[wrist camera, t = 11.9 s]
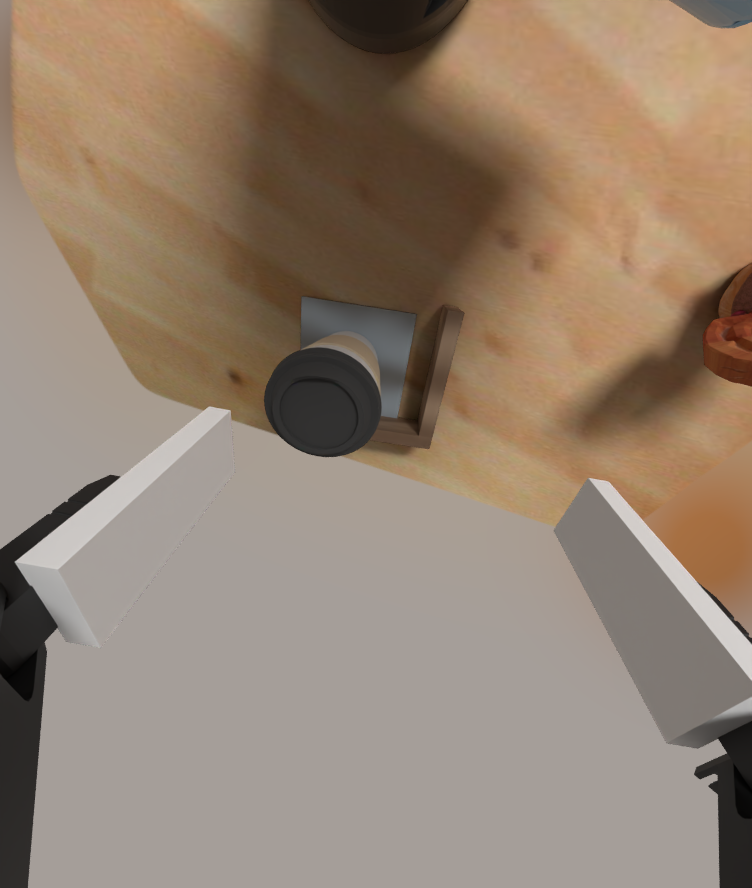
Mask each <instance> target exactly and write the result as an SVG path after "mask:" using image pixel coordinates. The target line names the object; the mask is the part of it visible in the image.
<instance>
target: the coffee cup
mask: <svg viewBox="0 0 752 888" xmlns="http://www.w3.org/2000/svg"><path fill="white" fill-rule="evenodd" d="M264 404H265V410H266V414H267V417H268V419H269V422H270V423H271V425H272V427H273V428H274V430H275V431H276V432H277V434H278V435H279V436H280V437H281V438H282V439H284V441H286V442H287V443H288V444H289V445H291V446H293V447H294V448H296V449H298V450H300V451H302V452H305V453H307V454H311V455H315V456H321V457H337V456H342V455H346V454H349V453H352V452H354V451H356V450H358V449H359V448H361V447H362V446H363V445H365V444H366V443H367V442H368V441H369V440H370V439H371V437H372V436H373V434H374V433H375V431H376V429H377V426H378V424H379V421H380V417H381V411H382V403H381V389H380V369H379V364H378V358H377V354H376V351H375V349H374V347H373V345H372V344H371V343H370V342H369V341H368V340H367V339H366V338H365V337H364V336H362V335H360V334H358V333H355V332H351V331H340V332H336V333H333V334H331V335H330V336H327V337H325V338H322V339H320V340H318V341H317V342H315V343H313V344H311V345H309V346H307V347H305V348H303V349H301V350H300V351H297V352H295V353H293V354H291V355H289V356H288V357H286V358H285V359H284V360H283V361H281V362H280V364H279V365H278V366H277V367H276V369H275V370H274V372H273V374H272V376H271V378H270V379H269V381H268V384H267V386H266V390H265V396H264Z"/></svg>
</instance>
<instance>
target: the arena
mask: <svg viewBox="0 0 752 888" xmlns="http://www.w3.org/2000/svg"><path fill="white" fill-rule="evenodd" d="M416 316H417V314H413V313H407V312H400V311H394V310H387V309H381V308H375V307H368V306H362V305H355V304H349V303H343V302H336V301H330V300H323V299H317V298H311V297H304V296H302V300H301V349H303V348H305V347H307V346H309V345H311V344H313V343H315V342H317V341H318V340H320V339H322V338H325V337H327V336H330V335H331V334H333V333H336V332H340V331H351V332H355V333H358V334H360V335H362V336H364V337H365V338H366V339H367V340H368V341H369V342H370V343H371V344H372V345H373V347H374V349H375V351H376V354H377V358H378V364H379V369H380V389H381V403H382V411H381V417H380V421H379V424H378V426H377V429H376V431H375V433H374V434H373V436H372V437H371V439H370V440H372V441H378V442H385V443H391V444H398V445H405V446H411V447H418V448H424V449H429V448H430V444H431V440H432V437H433V433H434V429H435V425H436V421H437V417H438V413H439V409H440V406H441V402H442V398H443V394H444V390H445V386H446V382H447V378H448V375H449V371H450V367H451V363H452V359H453V355H454V351H455V347H456V344H457V340H458V336H459V332H460V328H461V324H462V320H463V316H464V312H463V311H462V310H460V309H459V308H458V307H454V306H447V305H443V308H442V313H441V317H440V322H439V326H438V331H437V335H436V339H435V344H434V348H433V353H432V357H431V362H430V366H429V371H428V375H427V380H426V384H425V389H424V393H423V397H422V402H421V406H420V411H419V415H418V420H411V419H405V418H398V412H399V406H400V401H401V396H402V390H403V385H404V380H405V374H406V369H407V364H408V358H409V353H410V348H411V343H412V337H413V332H414V327H415V321H416Z"/></svg>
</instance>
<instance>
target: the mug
mask: <svg viewBox="0 0 752 888" xmlns="http://www.w3.org/2000/svg"><path fill="white" fill-rule="evenodd" d="M718 314H719V317H720V318H719V319H715V320H713V321H712V322H711V323H710V324H709V326H708V327H707V328H706V330H705V332H704V334H703V352H704V365H705V366H706V367H707V368H709V369H710V370H711V371H712V372H713V373H714V374H716V375H718V376H720V377H722V378H724V379H726V380H728V381H731V382H734V383H740V384H744V385H748V386H752V263H751V264H749V265H748V266H747V267H745V268H744V269H742V270H741V271H740V273H739V274H738V275H737V276H736V277H735V278H734V279H733V281H732V282H731V284H730V285H729V287H728V288H727V289H726V291H725V292H724V294H723V296H722V298H721V300H720V303H719V310H718Z"/></svg>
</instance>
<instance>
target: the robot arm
mask: <svg viewBox="0 0 752 888" xmlns="http://www.w3.org/2000/svg"><path fill="white" fill-rule="evenodd" d="M466 1H467V0H309V2H310V3H311V5H312V7H313V8H314V10H315V11H316V12H317V14H318V15H319V16H320V17H321V19H322V20H323V21H324V22H325V23H326V24H327V25H328V26H329V27H330V28H331V29H332V30H333V31H334V32H335V33H336V34H337V35H338V36H340V37H341V38H342V39H344V40H345V41H347V42H348V43H350V44H352V45H354V46H356V47H358V48H360V49H363V50H366V51H370V52H375V53H397V52H402V51H406V50H409V49H412V48H414V47H416V46H419V45H421V44H422V43H424V42H426V41H428V40H429V39H431V38H432V37H433V36H435V35H436V34H437V33H439V32H440V31H441V30H442V29H443V28H444V27H445V26H446V25H447V24H448V23H449V22H450V21H451V20H452V19H453V18H454V17H455V16H456V15H457V13H458V12H459V11H460V10H461V8H462V7H463V6H464V4H465V3H466ZM670 1H671V2H673V3H674V4H676V5H677V6H679V7H680V8H682V9H683V10H685V11H687V12H688V13H690V14H691V15H693V16H694V17H696V18H697V19H699V20H700V21H702V22H703V23H705V24H707V25H709V26H712V27H717V28H736V27H739V26H742V25H745V24H748V23H750V22H752V0H670ZM233 450H234V449H233V436H232V424H231V410H225V409H220V408H215V407H208V408H207V409H205V410H204V411H203V412H202V413H200V414H199V415H198V416H197V417H195V418H194V419H193V420H192V421H190V422H189V423H188V424H187V425H185V426H184V427H183V428H182V429H180V430H179V431H178V432H177V433H175V434H174V435H173V436H172V437H170V438H169V439H168V440H167V441H165V442H164V443H163V444H162V445H160V446H159V447H158V448H157V449H155V450H154V451H153V452H152V453H150V454H149V455H148V456H147V457H145V458H144V459H143V460H142V461H140V462H139V463H138V464H137V465H135V466H134V467H133V468H132V469H130V470H129V471H128V472H127V473H125V474H124V475H123V476H122V477H120V476H114V475H109V476H107V477H105V478H102V479H100V480H98V481H95V482H93V483H91V484H88V485H87V486H85V487H84V488H83V489H81V490H80V491H78V493H76V494H75V495H73V496H72V497H70V498H69V499H68V502H64V503H62V504H61V505H60V506H58V507H57V508H56V509H54V510H53V512H52V513H51V514H48V515H46V516H45V517H44V518H42V519H41V520H39V521H38V522H37V523H35V524H34V525H33V526H31V527H30V528H28V529H27V530H26V531H24V532H23V533H22V534H21V535H19V536H18V537H16V538H15V539H14V540H12V541H11V542H10V543H8V544H7V545H6V546H4V547H3V548H2V549H0V888H28V877H29V865H30V852H31V840H32V827H33V815H34V804H35V791H36V779H37V766H38V755H39V743H40V742H39V741H40V730H41V718H42V706H43V693H44V681H45V669H46V657H47V651H46V646H45V643H44V642H45V641H46V640H47V638H48V637H49V636H50V635H51V634H52V633H53V632H54V631H55V630H56V628H58V630H59V631H60V633H61V634H62V636H63V637H64V639H65V640H66V642H70V643H76V644H82V645H88V646H94V647H100V648H101V647H102V646H103V644H104V643H105V642H106V640H107V639H108V638H109V637H110V635H111V634H112V633H113V631H114V630H115V628H116V627H117V626H118V625H119V623H120V622H121V621H122V619H123V618H124V617H125V615H126V614H127V613H128V612H129V610H130V609H131V608H132V606H133V605H134V604H135V602H136V601H137V600H138V599H139V597H140V596H141V595H142V593H143V592H144V591H145V589H146V588H147V587H148V585H149V584H150V583H151V582H152V580H153V579H154V578H155V576H156V575H157V574H158V572H159V571H160V570H161V568H162V567H163V566H164V564H165V563H166V562H167V561H168V559H169V558H170V557H171V555H172V554H173V553H174V551H175V550H176V549H177V548H178V546H179V545H180V543H181V542H182V541H183V540H184V538H185V537H186V536H187V534H188V533H189V532H190V530H191V529H192V528H193V526H194V525H195V524H196V523H197V521H198V520H199V519H200V517H201V516H202V515H203V513H204V512H205V511H206V510H207V508H208V507H209V506H210V504H211V503H212V502H213V500H214V499H215V498H216V496H217V495H218V494H219V493H220V491H221V490H222V488H223V487H224V486H225V485H226V483H227V482H228V481H229V479H230V478H231V477H232V475H233V474H234V473H235V465H234V464H235V463H234V451H233ZM554 532H555V534H556V536H557V538H558V540H559V542H560V543H561V545H562V547H563V549H564V551H565V553H566V555H567V557H568V559H569V560H570V562H571V564H572V566H573V568H574V570H575V572H576V574H577V576H578V577H579V579H580V581H581V583H582V585H583V587H584V589H585V591H586V592H587V594H588V596H589V598H590V600H591V602H592V604H593V606H594V608H595V610H596V611H597V613H598V615H599V617H600V619H601V621H602V623H603V625H604V626H605V628H606V630H607V632H608V634H609V636H610V638H611V640H612V642H613V643H614V645H615V647H616V649H617V651H618V653H619V654H620V656H621V658H622V660H623V662H624V664H625V666H626V668H627V669H628V672H629V674H630V675H631V677H632V679H633V681H634V683H635V685H636V687H637V689H638V691H639V692H640V694H641V696H642V698H643V700H644V702H645V704H646V706H647V707H648V709H649V711H650V713H651V715H652V717H653V719H654V721H655V723H656V724H657V726H658V728H659V730H660V732H661V734H662V736H663V738H664V739H665V741H666V743H668V744H674V745H680V746H686V747H692V748H700V747H702V746H704V745H706V744H708V743H710V742H712V741H714V740H716V739H719V741H720V742H721V744H722V746H723V747H724V749H725V750H726V752H727V754H725V755H722V756H720V757H718V758H716V759H714V760H711V761H709V762H707V763H705V764H703V765H700V766H698V767H696V770H695V773H694V775H695V776H696V777H698V778H699V779H702V778H704V777H707V776H709V775H712V774H716V775H718V781H715V782H713V783H711V784H710V785H709V787H710V788H711V789H712V790H713V791H714V792H716V793H717V794H718V817H719V818H718V820H719V875H720V888H752V638H750V637H749V633H747V631H746V630H745V629H744V628H743V627H742V626H741V624H740V623H739V622H738V621H734V617H733V616H732V615H731V613H730V612H729V611H728V610H727V609H726V608H725V607H724V606H723V604H722V603H721V602H720V601H719V600H718V599H717V598H716V597H715V596H714V595H713V594H711V593H710V592H709V591H708V590H706V589H705V588H704V587H703V586H702V585H700V584H699V583H698V582H696V580H695V579H694V578H693V577H692V576H691V575H690V574H689V573H688V572H687V570H686V569H685V568H684V567H683V566H682V565H681V563H680V562H678V560H677V559H676V558H675V557H674V556H673V554H672V553H671V552H670V551H669V550H668V549H667V548H666V546H665V545H664V544H663V543H662V542H661V541H660V540H659V538H658V537H657V536H656V535H655V534H654V533H653V532H652V531H651V529H650V528H649V527H648V526H647V525H646V524H645V523H644V522H643V520H642V519H641V518H640V517H639V516H638V515H637V513H636V512H635V511H634V510H633V509H632V508H631V507H630V506H629V504H628V503H627V502H626V501H625V500H624V499H623V498H622V496H621V495H620V494H619V493H618V492H617V491H616V490H615V488H614V487H613V486H612V485H611V484H610V483H609V482H608V481H603V480H597V479H592V478H588V479H587V480H586V482H585V483H584V485H583V486H582V488H581V489H580V491H579V492H578V494H577V496H576V497H575V499H574V500H573V502H572V503H571V505H570V506H569V508H568V509H567V511H566V512H565V514H564V515H563V517H562V518H561V520H560V521H559V523H558V524H557V526H556V527H555V529H554Z"/></svg>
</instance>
